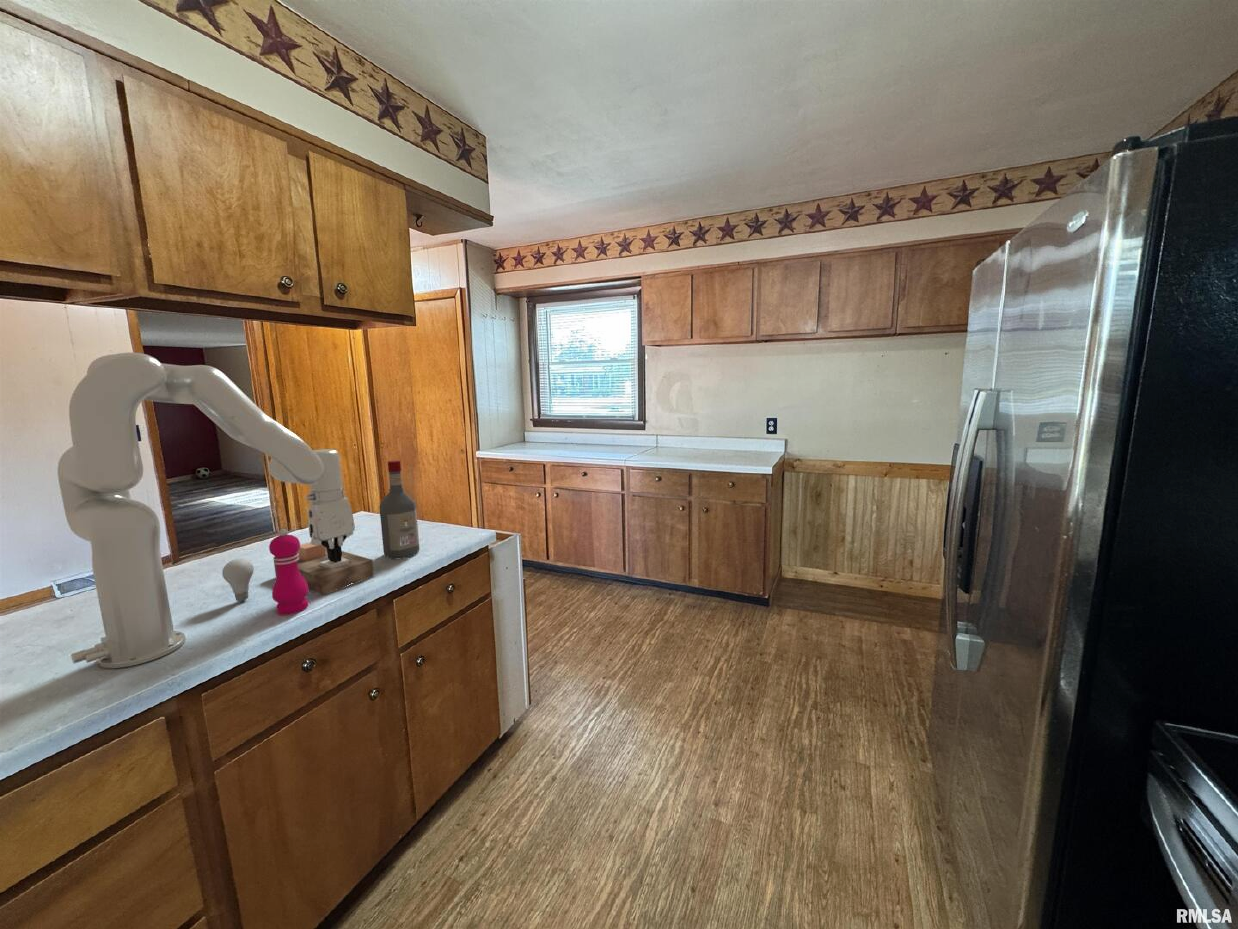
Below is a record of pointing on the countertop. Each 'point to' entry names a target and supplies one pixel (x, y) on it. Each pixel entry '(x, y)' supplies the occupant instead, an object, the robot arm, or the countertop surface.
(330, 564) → the white cube
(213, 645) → the countertop surface
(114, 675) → the countertop surface
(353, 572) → the block
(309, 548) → the orange cube
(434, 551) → the countertop surface
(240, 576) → the lightbulb
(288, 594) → the pepper mill
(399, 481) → the liquor
